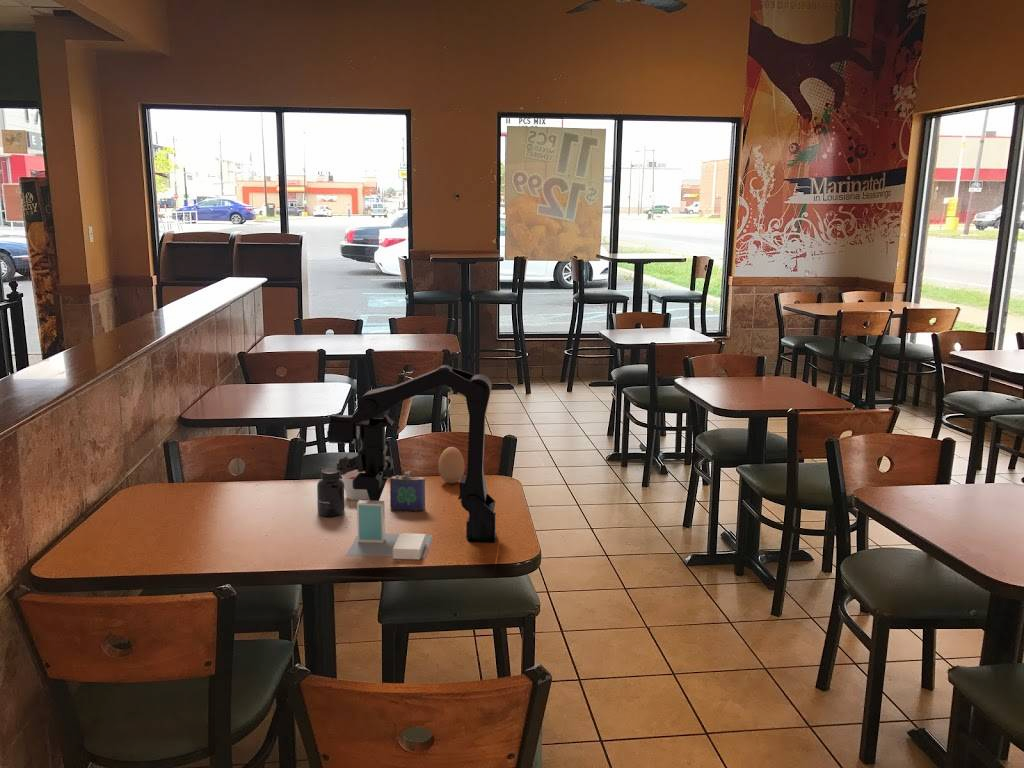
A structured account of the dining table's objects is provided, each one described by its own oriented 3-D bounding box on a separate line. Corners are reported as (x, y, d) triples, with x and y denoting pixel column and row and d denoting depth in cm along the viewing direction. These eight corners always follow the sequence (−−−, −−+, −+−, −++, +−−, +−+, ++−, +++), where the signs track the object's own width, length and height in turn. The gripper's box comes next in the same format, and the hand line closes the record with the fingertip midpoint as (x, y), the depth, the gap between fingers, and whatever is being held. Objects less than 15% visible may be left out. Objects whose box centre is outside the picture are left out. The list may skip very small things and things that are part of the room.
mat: (432, 537, 209) (432, 535, 209) (424, 559, 195) (424, 557, 195) (358, 535, 210) (358, 533, 210) (345, 557, 196) (345, 555, 196)
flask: (425, 509, 229) (425, 470, 227) (424, 512, 226) (424, 473, 224) (391, 508, 229) (390, 469, 227) (389, 512, 226) (388, 472, 224)
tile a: (425, 533, 203) (419, 549, 194) (425, 544, 203) (419, 559, 194) (399, 533, 203) (392, 548, 194) (400, 543, 204) (393, 559, 194)
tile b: (385, 538, 206) (384, 500, 204) (383, 542, 204) (382, 504, 202) (360, 538, 206) (359, 500, 204) (357, 542, 204) (356, 503, 202)
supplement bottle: (318, 520, 219) (317, 475, 217) (317, 511, 226) (315, 467, 223) (345, 518, 221) (344, 473, 219) (343, 509, 227) (342, 465, 225)
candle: (338, 494, 240) (338, 472, 239) (370, 490, 244) (370, 468, 242) (347, 503, 232) (346, 481, 231) (379, 499, 236) (379, 477, 234)
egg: (454, 477, 256) (454, 442, 254) (469, 484, 250) (470, 447, 248) (433, 482, 251) (432, 446, 249) (448, 489, 245) (448, 452, 243)
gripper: (348, 433, 214) (349, 493, 217) (329, 453, 196) (331, 519, 199) (393, 434, 214) (394, 494, 217) (378, 454, 195) (379, 520, 198)
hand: (374, 506), depth 208 cm, fingers closed
